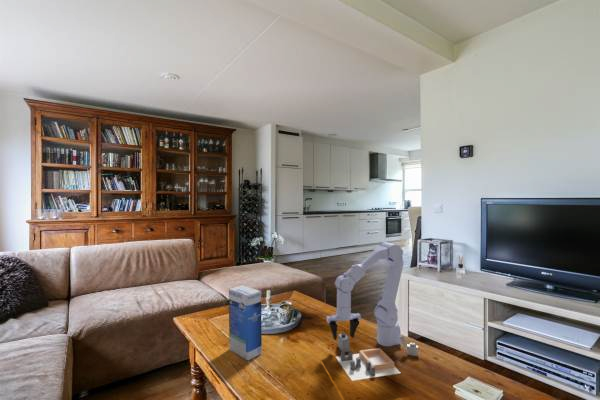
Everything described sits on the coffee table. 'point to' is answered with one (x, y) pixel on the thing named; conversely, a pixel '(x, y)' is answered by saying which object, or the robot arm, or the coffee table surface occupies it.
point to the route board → (363, 366)
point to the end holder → (376, 351)
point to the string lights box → (245, 322)
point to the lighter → (409, 347)
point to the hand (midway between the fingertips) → (343, 337)
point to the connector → (343, 342)
